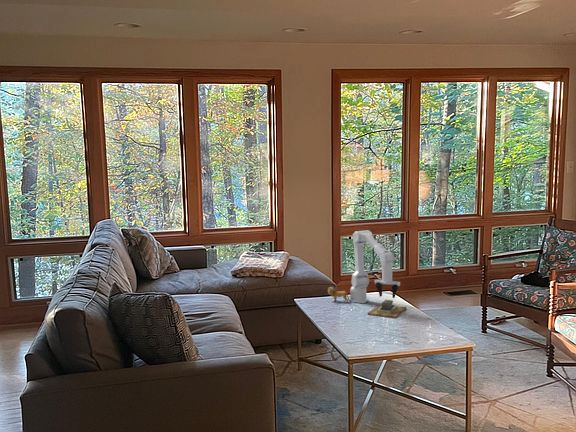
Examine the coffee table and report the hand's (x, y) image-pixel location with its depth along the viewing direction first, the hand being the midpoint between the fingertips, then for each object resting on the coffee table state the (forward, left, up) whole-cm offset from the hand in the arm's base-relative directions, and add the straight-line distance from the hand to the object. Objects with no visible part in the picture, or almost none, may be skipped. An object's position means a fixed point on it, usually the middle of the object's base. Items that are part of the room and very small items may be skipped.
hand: (387, 296), depth 324 cm
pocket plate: (0, 0, -9) cm, 9 cm away
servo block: (0, 0, -8) cm, 8 cm away
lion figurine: (-34, +8, -9) cm, 36 cm away
